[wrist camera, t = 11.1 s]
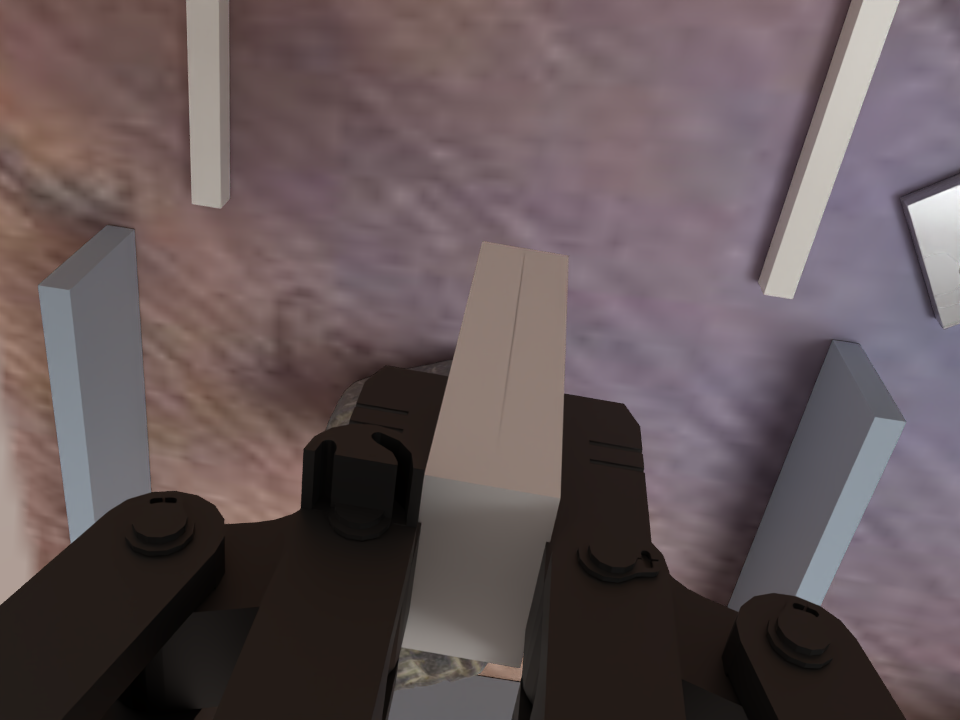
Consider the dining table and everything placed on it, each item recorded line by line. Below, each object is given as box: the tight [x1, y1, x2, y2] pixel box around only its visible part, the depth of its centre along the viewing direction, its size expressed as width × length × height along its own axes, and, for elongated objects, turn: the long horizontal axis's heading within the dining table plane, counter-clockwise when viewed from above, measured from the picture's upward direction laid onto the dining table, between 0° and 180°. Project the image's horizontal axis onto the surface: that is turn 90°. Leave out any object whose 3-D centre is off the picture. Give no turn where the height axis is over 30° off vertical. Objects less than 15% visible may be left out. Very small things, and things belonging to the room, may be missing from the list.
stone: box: [325, 360, 488, 691], centre depth 24 cm, size 3×6×10 cm, turn 105°
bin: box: [38, 225, 906, 720], centre depth 28 cm, size 17×22×4 cm
